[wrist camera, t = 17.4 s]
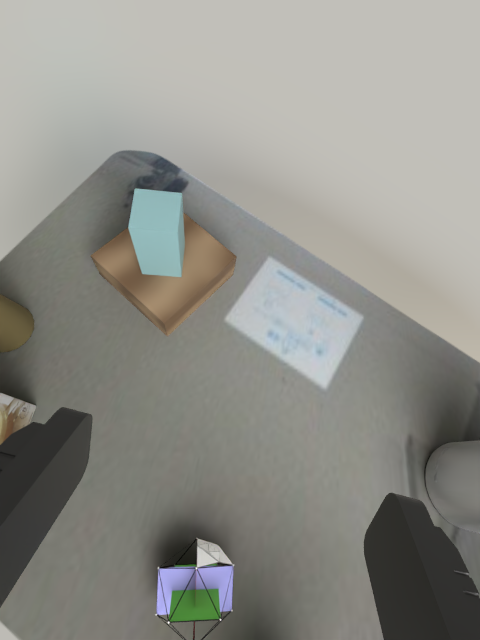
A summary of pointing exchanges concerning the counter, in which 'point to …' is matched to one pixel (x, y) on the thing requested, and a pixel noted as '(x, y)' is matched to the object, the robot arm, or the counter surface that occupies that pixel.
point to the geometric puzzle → (196, 587)
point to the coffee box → (13, 415)
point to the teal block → (158, 232)
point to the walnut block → (166, 291)
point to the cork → (14, 325)
